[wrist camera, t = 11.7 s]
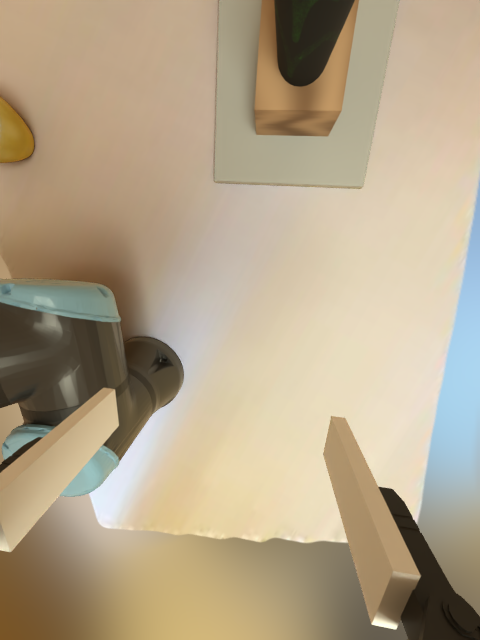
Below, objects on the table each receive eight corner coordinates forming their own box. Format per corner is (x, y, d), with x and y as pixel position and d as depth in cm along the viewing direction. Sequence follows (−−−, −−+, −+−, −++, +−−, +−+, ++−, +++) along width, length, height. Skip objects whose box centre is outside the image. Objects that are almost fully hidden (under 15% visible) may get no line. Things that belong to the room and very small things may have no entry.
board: (215, 183, 36) (214, 180, 35) (221, -8, 30) (219, -18, 28) (360, 188, 34) (363, 186, 33) (398, -14, 28) (404, -25, 27)
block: (256, 135, 33) (254, 109, 27) (262, 44, 30) (262, -6, 24) (328, 136, 32) (341, 110, 26) (341, 42, 29) (360, -10, 23)
